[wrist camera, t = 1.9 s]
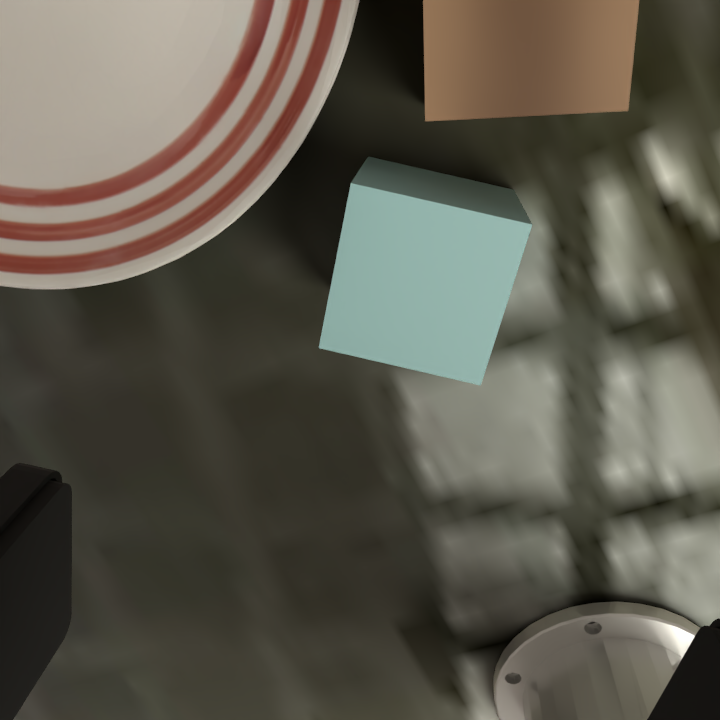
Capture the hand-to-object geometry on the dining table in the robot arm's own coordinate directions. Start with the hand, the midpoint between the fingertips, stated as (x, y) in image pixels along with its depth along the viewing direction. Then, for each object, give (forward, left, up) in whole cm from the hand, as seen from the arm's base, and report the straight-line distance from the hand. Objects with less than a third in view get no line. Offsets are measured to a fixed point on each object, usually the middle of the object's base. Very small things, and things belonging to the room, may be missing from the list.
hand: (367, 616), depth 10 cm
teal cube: (0, 0, -20) cm, 21 cm away
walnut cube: (-1, -9, -20) cm, 23 cm away
